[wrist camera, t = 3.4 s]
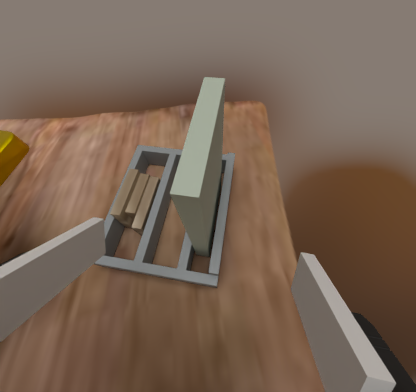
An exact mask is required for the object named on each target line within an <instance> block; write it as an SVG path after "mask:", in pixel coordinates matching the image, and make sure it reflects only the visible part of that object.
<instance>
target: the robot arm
mask: <svg viewBox="0 0 416 392" xmlns="http://www.w3.org/2000/svg"><path fill="white" fill-rule="evenodd" d="M104 254H106V250H105V232H104V219H101V218H95V217H93V218H91V219H89V220H87V221H86V222H84V223H82V224H80V225H78V226H76V227H74V228H72V229H70V230H69V231H67V232H65V233H63V234H61V235H59V236H57V237H55V238H53V239H51V240H50V241H48V242H46V243H44V244H42V245H40V246H38V247H36V248H34V249H32V250H31V251H28V252H25V253H22V254H19V255H18V256H16V257H14V258H12V259H10V260H9V261H6V262H4V263H2V264H0V342H1V341H3V340H4V339H5V338H6V337H7V336H8V335H10V334H11V333H12V332H13V331H14V330H16V329H17V328H18V327H19V326H20V325H22V324H23V323H24V322H25V321H26V320H27V319H29V318H30V317H31V316H32V315H33V314H35V313H36V312H37V311H38V310H39V309H40V308H42V307H43V306H44V305H45V304H46V303H48V302H49V301H50V300H51V299H52V298H54V297H55V296H56V295H57V294H58V293H59V292H61V291H62V290H63V289H64V288H65V287H67V286H68V285H69V284H70V283H71V282H72V281H74V280H75V279H76V278H77V277H78V276H80V275H81V274H82V273H83V272H84V271H86V270H87V269H88V268H89V267H90V266H91V265H93V264H94V263H95V262H96V261H97V260H99V259H100V258H101V257H102V256H103V255H104ZM291 291H292V294H293V297H294V300H295V303H296V306H297V309H298V312H299V315H300V318H301V321H302V324H303V327H304V330H305V333H306V336H307V339H308V342H309V345H310V348H311V351H312V354H313V357H314V360H315V363H316V366H317V369H318V372H319V374H320V377H321V380H322V383H323V386H324V389H325V392H416V385H415V383H414V382H413V380H412V379H411V378H410V376H409V375H408V373H407V372H406V371H405V369H404V368H403V366H402V365H401V364H400V362H399V361H398V359H397V358H396V357H395V355H394V354H393V353H392V351H390V348H389V347H388V345H387V344H386V343H385V341H384V340H382V337H381V336H380V334H379V333H378V332H377V330H376V329H375V327H374V326H373V325H372V324H371V323H370V322H369V321H368V320H367V319H366V318H364V317H363V316H362V315H361V314H358V313H353V312H350V310H349V309H348V307H347V306H346V304H345V302H344V301H343V299H342V298H341V296H340V295H339V293H338V291H337V290H336V288H335V287H334V285H333V284H332V282H331V281H330V279H329V278H328V276H327V274H326V273H325V271H324V270H323V268H322V266H321V265H320V263H319V262H318V260H317V259H316V257H315V256H314V255H313V254H307V253H301V254H300V257H299V261H298V264H297V268H296V272H295V275H294V279H293V283H292V286H291Z"/></svg>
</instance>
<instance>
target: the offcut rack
mask: <svg viewBox="0 0 416 392" xmlns="http://www.w3.org/2000/svg"><path fill="white" fill-rule="evenodd" d="M182 151H183V150H179V149H170V148H161V147H152V146H142V145H138V147H137V149H136V151H135V153H134V156H133V158H132V160H131V163H130V165H129V167H128V169H127V172H126V174H125V176H124V178H123V181H122V183H121V185H120V188H119V190H118V192H117V194H116V197H115V199H114V201H113V203H112V206H111V208H110V210H109V213H108V215H107V217H106V219H105V222H104V232H105V250H106V254H104V255H103V256H102V257H101V258H100V259H99V260H97V261H96V262H95V263H94V264H96V265H99V266H103V267H108V268H113V269H119V270H124V271H129V272H135V273H140V274H145V275H151V276H156V277H161V278H167V279H172V280H177V281H183V282H188V283H193V284H199V285H204V286H209V287H215V288H217V283H218V276H219V268H220V261H221V254H222V247H223V239H224V232H225V225H226V217H227V210H228V203H229V196H230V188H231V181H232V174H233V166H234V158H235V153H228V154H227V155H225V154H222V172H221V173H224V179H223V186H222V192H221V198H220V204H219V210H218V217H217V223H216V229H215V235H214V242H213V248H212V254H211V260H210V267H209V274H204V273H198V272H193V271H190V269H191V265H192V260H193V255H194V248H193V245H192V243H191V241H190V239H189V236H188V234H187V232H186V233H185V237H184V241H183V246H182V250H181V254H180V258H179V263H178V267H177V269H176V268H171V267H165V266H160V265H154V264H152V261H153V258H154V254H155V251H156V248H157V244H158V241H159V237H160V234H161V230H162V227H163V224H164V220H165V217H166V213H167V210H168V206H169V203H170V199H171V196H170V191H171V188H172V184H173V181H174V178H175V174H176V171H177V167H178V164H179V161H180V157H181V154H182ZM149 164H152V165H161V166H165V169H164V172H163V175H162V178H161V181H160V184H159V187H158V190H157V193H156V196H155V199H154V202H153V205H152V208H151V211H150V214H149V217H148V220H147V223H146V226H145V229H144V232H143V235H142V238H141V241H140V244H139V247H138V250H137V253H136V256H135V259H134V261H132V260H126V259H121V258H115V257H113V256H114V254H115V251H116V248H117V246H118V243H119V241H120V238H121V235H122V233H123V230H124V227H125V226H124V225H123V224H122V223H120V222H119V221H118V220H117V219H115V218H114V217H113V216H112V215H110V212H111V210H112V208H113V205H114V203H115V201H116V199H117V196H118V194H119V192H120V189H121V187H122V185H123V183H124V180H125V178H126V176H127V173H128V171H129V169H136V170H139V172H140V173H142V174H145V173H146V170H147V168H148V165H149Z"/></svg>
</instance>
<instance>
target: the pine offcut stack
mask: <svg viewBox="0 0 416 392" xmlns="http://www.w3.org/2000/svg"><path fill="white" fill-rule="evenodd" d="M159 184H160V179H159V177H151V176H150V175H149V174H142V173H140V172H139V170H136V169H129V171H128V173H127V176H126V178H125V180H124V183H123V185H122V187H121V189H120V192H119V194H118V196H117V199H116V201H115V203H114V205H113V208H112V210H111V212H110V215H112V216H113V217H114V218H115V219H117V220H118V221H119V222H120V223H122V224H123V225H124V226H125V227H126V228H132V229H134V230H135V231H136V232H137V233H138V234H140V235H141V236H142V235H143V232H144V229H145V226H146V223H147V220H148V217H149V214H150V211H151V208H152V205H153V202H154V199H155V196H156V193H157V190H158V187H159Z"/></svg>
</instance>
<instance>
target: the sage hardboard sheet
mask: <svg viewBox="0 0 416 392" xmlns="http://www.w3.org/2000/svg"><path fill="white" fill-rule="evenodd" d="M224 91H225V79H224V78H210V77H205V78H204V81H203V84H202V87H201V90H200V94H199V97H198V100H197V104H196V107H195V110H194V114H193V117H192V121H191V124H190V127H189V131H188V134H187V137H186V141H185V144H184V147H183V151H182V154H181V157H180V161H179V164H178V167H177V171H176V174H175V178H174V181H173V184H172V188H171V191H170V196H171V198H172V200H173V202H174V205H175V207H176V209H177V211H178V214H179V216H180V218H181V220H182V223H183V225H184V227H185V230H186V232H187V234H188V236H189V239H190V241H191V243H192V245H193V248H194V250H195V252H196V254H197V255H200V256H206V257H209V256H210V250H211V244H212V238H213V231H214V225H215V219H216V213H217V207H218V201H219V195H220V189H221V172H222V145H223V118H224Z"/></svg>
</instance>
